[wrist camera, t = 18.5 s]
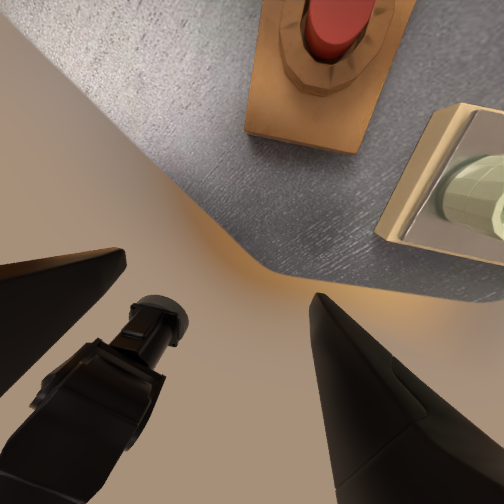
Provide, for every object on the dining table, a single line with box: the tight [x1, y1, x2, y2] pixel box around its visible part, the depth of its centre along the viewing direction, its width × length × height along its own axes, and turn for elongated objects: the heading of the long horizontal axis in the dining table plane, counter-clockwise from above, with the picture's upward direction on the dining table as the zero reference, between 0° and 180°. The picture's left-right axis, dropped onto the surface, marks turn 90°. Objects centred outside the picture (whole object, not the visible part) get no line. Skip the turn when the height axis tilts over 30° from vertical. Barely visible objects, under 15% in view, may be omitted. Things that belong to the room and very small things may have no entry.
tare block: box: [244, 0, 416, 155], centre depth 12 cm, size 12×9×4 cm
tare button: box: [305, 0, 376, 60], centre depth 10 cm, size 3×3×2 cm
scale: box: [374, 103, 504, 266], centre depth 16 cm, size 10×15×2 cm
